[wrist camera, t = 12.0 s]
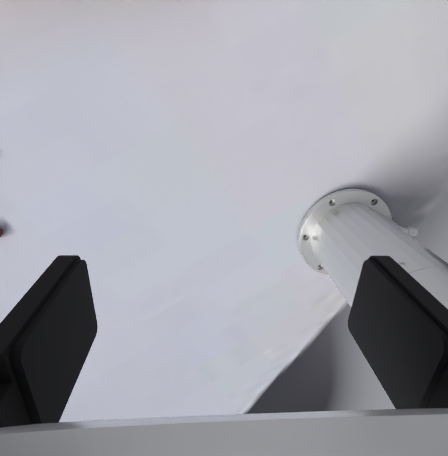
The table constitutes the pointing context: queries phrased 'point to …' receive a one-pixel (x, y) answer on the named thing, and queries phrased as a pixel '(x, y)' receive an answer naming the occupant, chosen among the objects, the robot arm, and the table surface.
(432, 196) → the table surface
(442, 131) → the table surface
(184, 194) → the table surface
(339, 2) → the table surface
